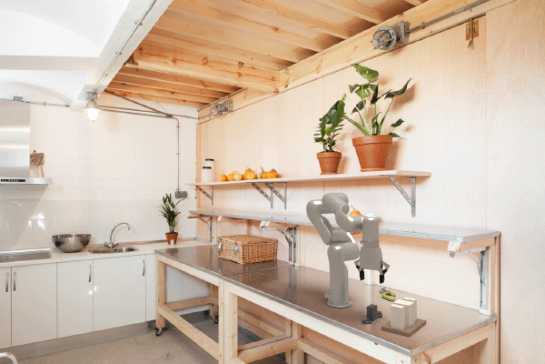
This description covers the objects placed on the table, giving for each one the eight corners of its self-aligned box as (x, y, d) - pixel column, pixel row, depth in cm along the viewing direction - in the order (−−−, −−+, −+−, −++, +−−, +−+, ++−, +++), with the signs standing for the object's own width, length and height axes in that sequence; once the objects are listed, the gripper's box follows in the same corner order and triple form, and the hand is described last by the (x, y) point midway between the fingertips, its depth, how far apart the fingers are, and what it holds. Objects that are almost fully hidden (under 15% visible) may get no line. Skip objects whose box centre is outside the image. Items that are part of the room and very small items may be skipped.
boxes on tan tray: (381, 329, 156) (380, 304, 157) (399, 317, 170) (399, 295, 171) (409, 337, 148) (408, 310, 149) (426, 323, 162) (425, 299, 163)
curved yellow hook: (375, 289, 220) (384, 302, 196) (375, 284, 220) (384, 297, 196) (389, 289, 220) (399, 302, 195) (389, 285, 220) (399, 297, 195)
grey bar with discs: (359, 322, 165) (358, 309, 165) (375, 313, 177) (375, 300, 177) (368, 325, 162) (368, 311, 162) (384, 315, 174) (384, 302, 174)
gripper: (350, 243, 173) (351, 280, 173) (384, 246, 162) (386, 286, 161) (358, 241, 179) (359, 277, 178) (392, 244, 167) (393, 282, 167)
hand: (371, 281), depth 170 cm, fingers open, 9 cm apart
